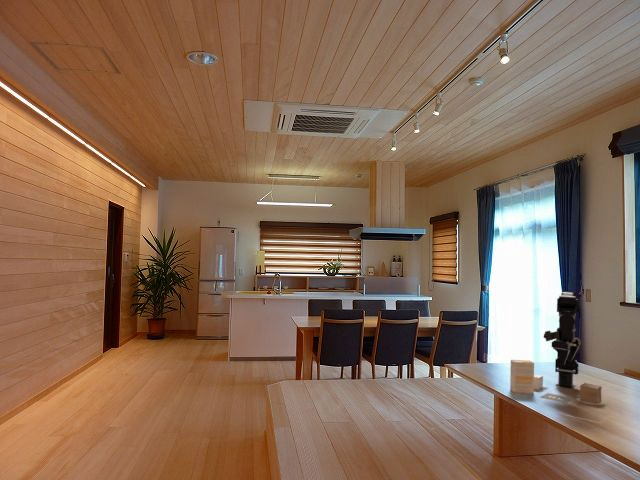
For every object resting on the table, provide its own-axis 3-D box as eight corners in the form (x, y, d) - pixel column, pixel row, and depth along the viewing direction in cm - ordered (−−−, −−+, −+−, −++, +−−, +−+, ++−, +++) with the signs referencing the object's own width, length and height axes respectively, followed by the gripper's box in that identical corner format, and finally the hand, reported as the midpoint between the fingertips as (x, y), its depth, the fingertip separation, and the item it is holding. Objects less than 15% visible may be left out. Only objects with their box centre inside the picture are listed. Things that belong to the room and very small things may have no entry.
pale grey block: (530, 385, 212) (530, 373, 212) (542, 387, 208) (542, 376, 209) (526, 387, 208) (526, 375, 208) (538, 389, 205) (538, 377, 205)
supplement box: (530, 392, 202) (530, 360, 203) (533, 395, 197) (534, 362, 198) (509, 390, 203) (510, 359, 204) (512, 393, 198) (513, 361, 199)
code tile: (547, 394, 200) (547, 392, 200) (574, 399, 193) (574, 398, 193) (539, 398, 193) (539, 397, 193) (566, 404, 186) (566, 403, 186)
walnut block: (584, 397, 195) (584, 382, 195) (601, 401, 191) (601, 385, 191) (580, 400, 190) (580, 385, 191) (597, 404, 186) (597, 388, 186)
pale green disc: (580, 396, 198) (580, 395, 198) (608, 402, 191) (608, 401, 191) (572, 401, 190) (572, 400, 190) (601, 407, 183) (601, 406, 183)
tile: (527, 384, 215) (527, 383, 215) (549, 388, 209) (549, 388, 209) (519, 387, 208) (519, 387, 208) (541, 392, 202) (541, 391, 202)
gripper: (553, 322, 214) (552, 357, 214) (538, 325, 201) (537, 363, 200) (581, 325, 207) (580, 362, 206) (567, 328, 193) (567, 368, 192)
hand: (566, 363), depth 201 cm, fingers open, 9 cm apart
